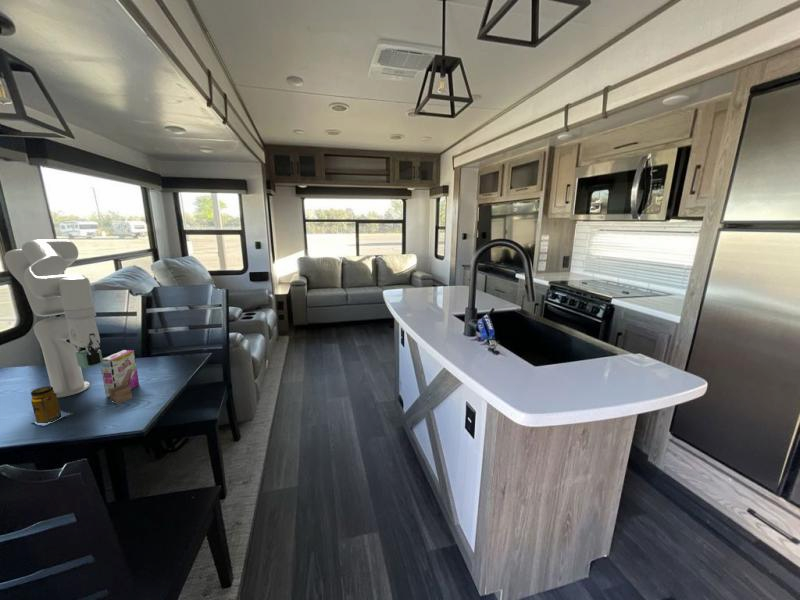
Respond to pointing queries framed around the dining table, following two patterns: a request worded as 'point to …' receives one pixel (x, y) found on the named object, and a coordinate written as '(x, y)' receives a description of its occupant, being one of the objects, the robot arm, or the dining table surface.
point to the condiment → (45, 405)
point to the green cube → (83, 359)
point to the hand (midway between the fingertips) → (90, 362)
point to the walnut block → (120, 394)
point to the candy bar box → (119, 370)
